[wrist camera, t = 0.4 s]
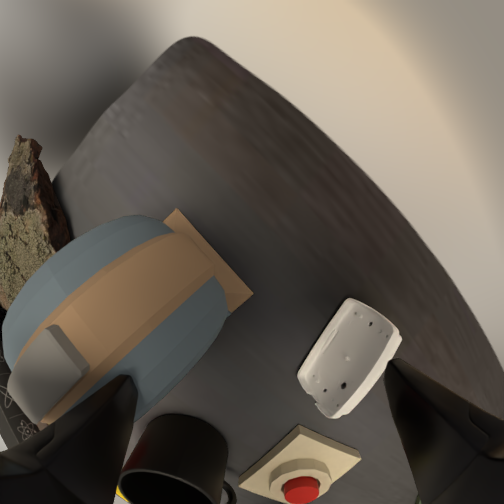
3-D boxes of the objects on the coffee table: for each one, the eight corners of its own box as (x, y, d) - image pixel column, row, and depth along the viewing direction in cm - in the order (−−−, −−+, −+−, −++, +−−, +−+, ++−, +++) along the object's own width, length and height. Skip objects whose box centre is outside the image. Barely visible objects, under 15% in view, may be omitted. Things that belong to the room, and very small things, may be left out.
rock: (36, 345, 27) (12, 360, 22) (-27, 250, 26) (-51, 254, 21) (116, 217, 25) (90, 216, 20) (35, 125, 24) (9, 115, 19)
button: (302, 496, 23) (303, 507, 21) (276, 488, 23) (277, 499, 21) (324, 480, 23) (326, 491, 21) (298, 471, 23) (300, 483, 21)
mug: (216, 488, 27) (205, 541, 18) (133, 439, 26) (103, 488, 17) (264, 454, 26) (264, 515, 17) (172, 397, 26) (141, 453, 17)
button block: (297, 498, 26) (299, 517, 23) (238, 477, 26) (236, 497, 23) (358, 450, 26) (365, 469, 22) (298, 423, 25) (302, 444, 22)
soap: (400, 326, 18) (417, 336, 19) (347, 292, 24) (366, 303, 25) (328, 424, 18) (351, 426, 20) (293, 375, 25) (314, 381, 26)
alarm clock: (185, 200, 24) (45, 146, 7) (262, 285, 25) (262, 404, 7) (88, 303, 25) (-51, 365, 8) (153, 377, 26) (60, 502, 8)
